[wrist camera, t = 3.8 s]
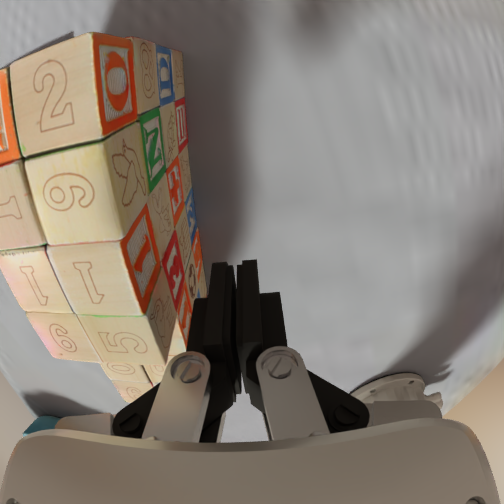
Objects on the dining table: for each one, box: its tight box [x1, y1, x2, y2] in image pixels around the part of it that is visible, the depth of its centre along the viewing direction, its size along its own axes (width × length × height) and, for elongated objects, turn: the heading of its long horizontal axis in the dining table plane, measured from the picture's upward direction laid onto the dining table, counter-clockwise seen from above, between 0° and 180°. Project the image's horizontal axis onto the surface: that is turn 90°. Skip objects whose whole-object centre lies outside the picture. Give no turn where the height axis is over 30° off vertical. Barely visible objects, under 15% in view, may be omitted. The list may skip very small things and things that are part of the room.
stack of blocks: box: [0, 32, 207, 403], centre depth 16 cm, size 21×6×12 cm, turn 2°
